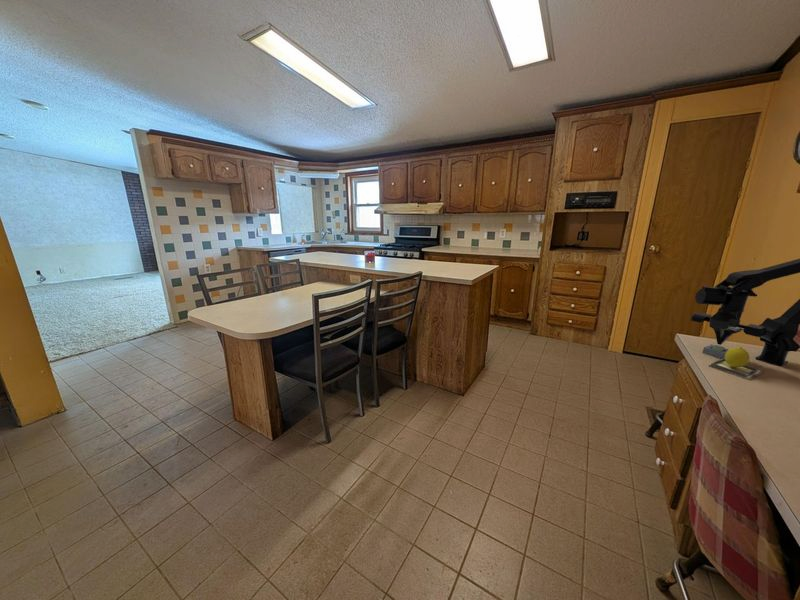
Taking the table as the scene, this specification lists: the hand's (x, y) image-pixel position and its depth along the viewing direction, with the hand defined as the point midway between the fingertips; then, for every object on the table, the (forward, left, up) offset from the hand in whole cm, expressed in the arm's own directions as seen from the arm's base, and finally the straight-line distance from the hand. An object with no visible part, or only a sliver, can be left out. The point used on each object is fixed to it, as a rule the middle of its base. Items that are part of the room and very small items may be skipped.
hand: (719, 344), depth 112 cm
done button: (0, 0, -4) cm, 4 cm away
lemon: (+10, +8, -4) cm, 14 cm away
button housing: (0, 0, -4) cm, 4 cm away
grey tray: (+9, +8, -4) cm, 13 cm away
